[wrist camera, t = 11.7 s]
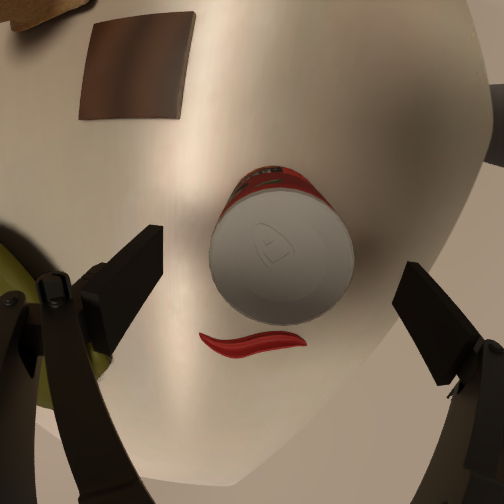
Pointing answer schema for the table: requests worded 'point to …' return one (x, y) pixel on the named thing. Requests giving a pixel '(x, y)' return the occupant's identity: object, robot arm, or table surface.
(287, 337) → the cayenne pepper
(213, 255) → the canned food
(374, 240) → the table surface
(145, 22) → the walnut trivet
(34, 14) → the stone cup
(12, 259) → the spaceship
